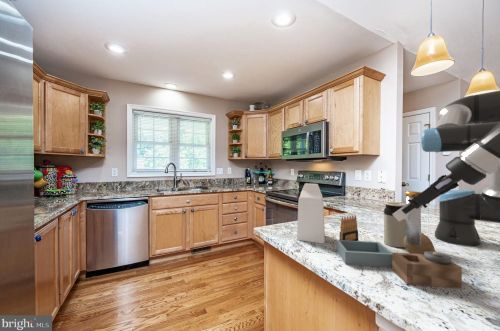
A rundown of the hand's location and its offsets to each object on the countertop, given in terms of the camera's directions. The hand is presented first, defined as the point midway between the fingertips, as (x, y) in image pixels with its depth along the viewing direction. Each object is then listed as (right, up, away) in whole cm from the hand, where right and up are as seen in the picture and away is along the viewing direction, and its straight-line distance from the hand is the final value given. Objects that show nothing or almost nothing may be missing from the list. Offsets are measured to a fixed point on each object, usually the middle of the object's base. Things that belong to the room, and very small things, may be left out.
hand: (398, 216), depth 67 cm
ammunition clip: (-3, -19, +27) cm, 33 cm away
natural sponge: (+15, -18, +10) cm, 26 cm away
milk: (-18, -19, +33) cm, 42 cm away
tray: (-6, -18, +11) cm, 22 cm away
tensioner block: (+5, -18, -4) cm, 19 cm away
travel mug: (+16, -18, +24) cm, 34 cm away
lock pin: (+2, -8, -3) cm, 9 cm away
